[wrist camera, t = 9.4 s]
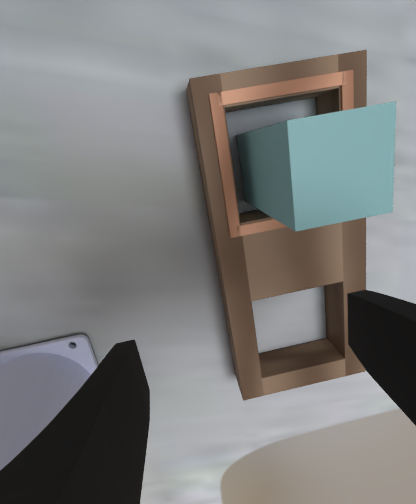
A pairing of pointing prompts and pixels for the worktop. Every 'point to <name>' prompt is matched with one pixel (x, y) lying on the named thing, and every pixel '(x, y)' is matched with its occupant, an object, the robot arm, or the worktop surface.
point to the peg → (322, 167)
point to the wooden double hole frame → (278, 225)
